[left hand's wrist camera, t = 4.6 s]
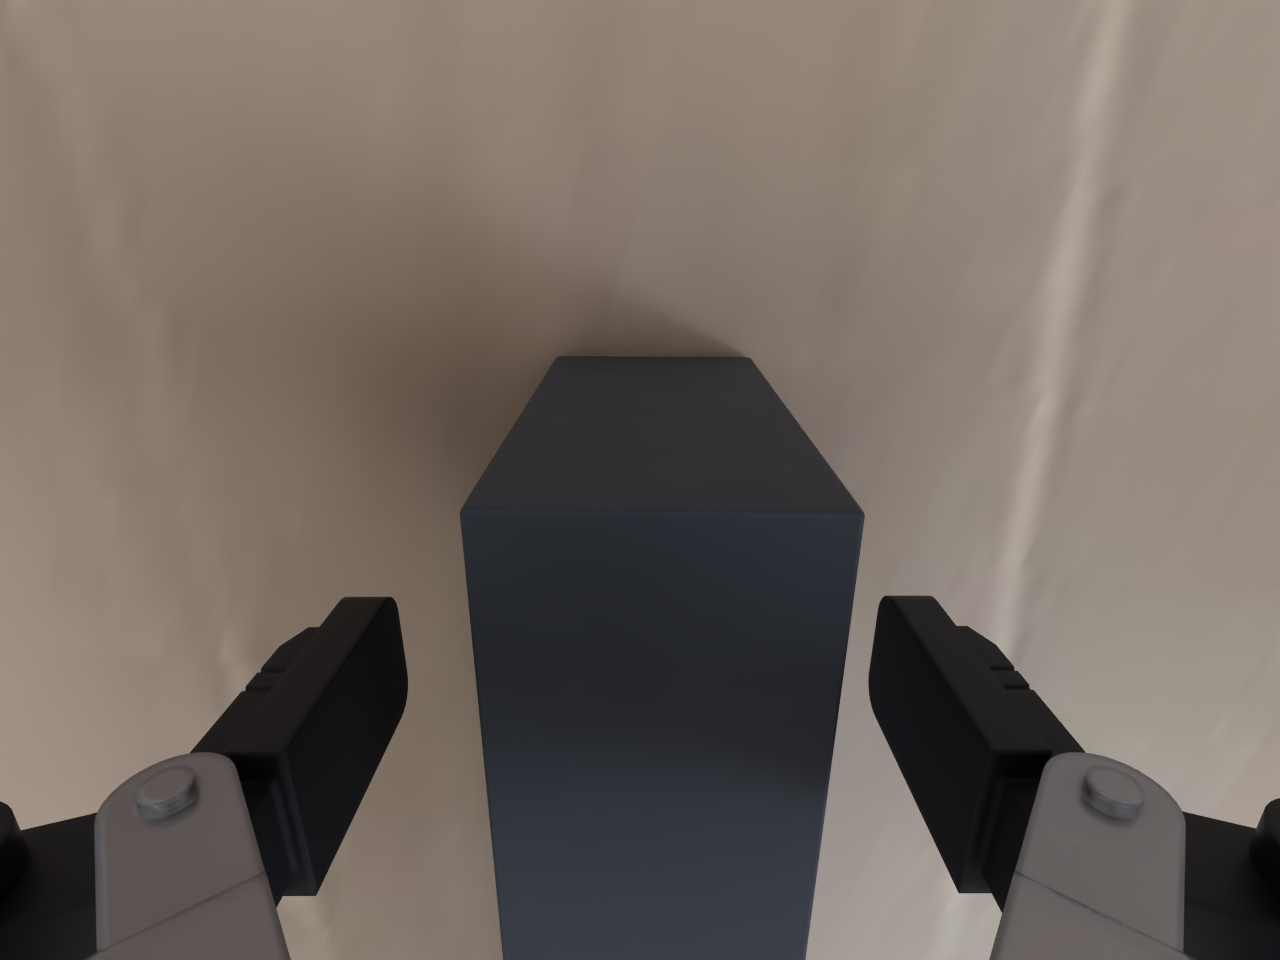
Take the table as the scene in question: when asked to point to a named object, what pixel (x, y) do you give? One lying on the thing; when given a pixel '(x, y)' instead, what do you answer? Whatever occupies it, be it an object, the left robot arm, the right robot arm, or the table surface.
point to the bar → (658, 661)
